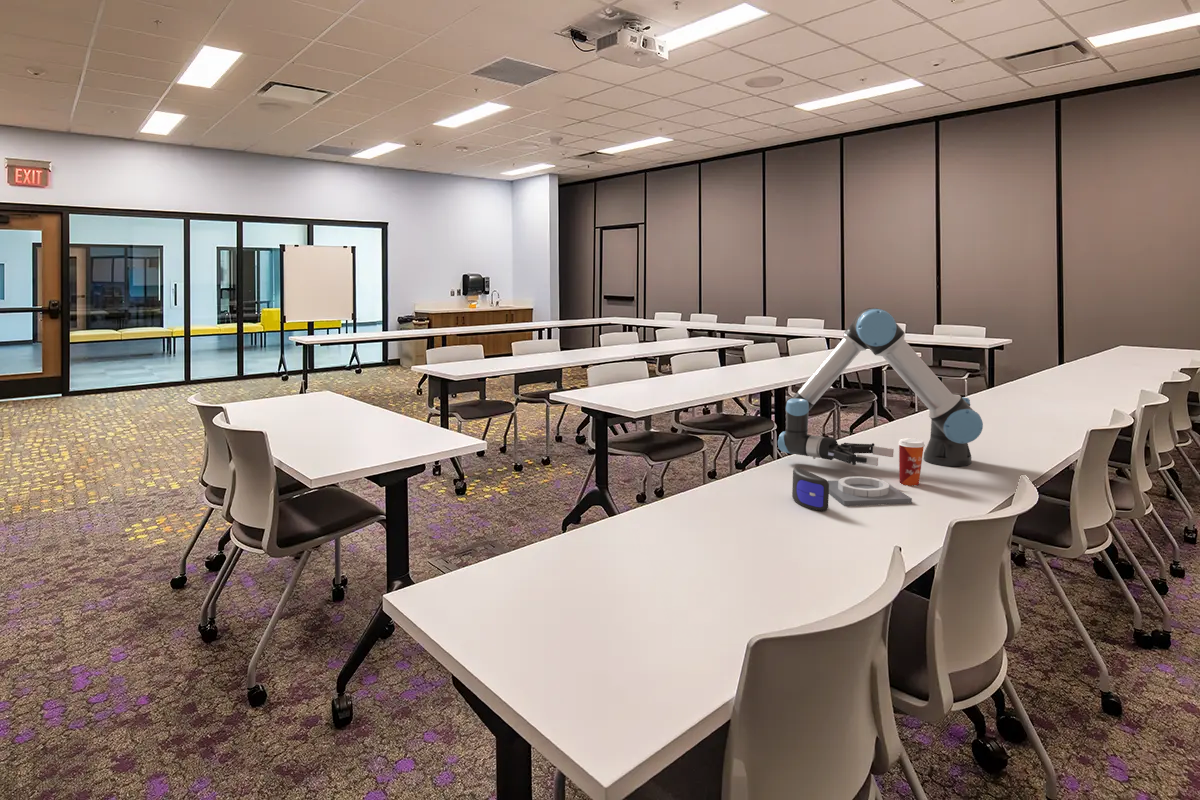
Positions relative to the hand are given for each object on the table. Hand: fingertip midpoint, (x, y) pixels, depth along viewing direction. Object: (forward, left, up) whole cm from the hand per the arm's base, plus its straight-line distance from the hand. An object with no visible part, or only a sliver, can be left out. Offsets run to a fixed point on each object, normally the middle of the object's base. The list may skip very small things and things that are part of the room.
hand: (885, 457), depth 224 cm
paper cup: (-6, +5, -8) cm, 11 cm away
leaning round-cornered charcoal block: (+32, +21, -8) cm, 40 cm away
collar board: (+13, +14, -7) cm, 21 cm away
